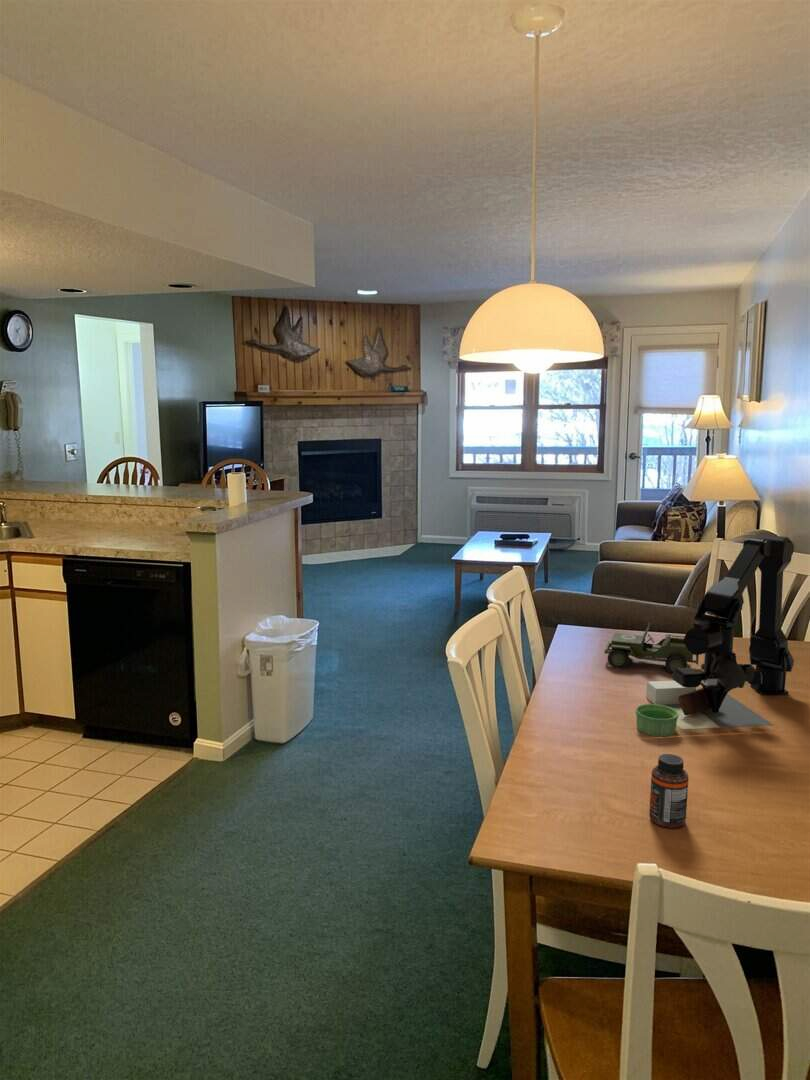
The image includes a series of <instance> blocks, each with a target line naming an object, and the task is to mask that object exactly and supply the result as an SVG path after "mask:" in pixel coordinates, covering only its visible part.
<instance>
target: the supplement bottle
mask: <svg viewBox="0 0 810 1080" xmlns="http://www.w3.org/2000/svg"><path fill="white" fill-rule="evenodd" d="M688 793H689V774H688V772H687V771H686V770H685V769H684V758H682V756H680V755H677V754H672V753H662V754H660V755H659V756H658V761H657V765H656V766H654V767H653V768H652V771H651V779H650V796H649V811H648V813H649V818H650V820H651V821H652V822H653V823H655V824H656V825H658V826H660V827H663V828H667V829H677V828H680V827H683V826H684V825H685V823H686V819H687V807H688V797H689V796H688Z"/></svg>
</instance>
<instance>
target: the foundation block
mask: <svg viewBox="0 0 810 1080" xmlns="http://www.w3.org/2000/svg"><path fill="white" fill-rule="evenodd" d="M695 690H697V687H683V686H681V685H680V684H678V683H677V682H676V681H674V680H656V681H655V680H654V681H653V680H651V681H646V693H645V694H646V695H645V699H647V698H648V699H649V700H648V699H647V700H648V701H650V702H651V704H658V705H665V704H680V702H679V700H678V699H679V698H678V697H679V696H680V695H682V694H685V693H689V692H692V691H695Z"/></svg>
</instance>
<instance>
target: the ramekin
mask: <svg viewBox="0 0 810 1080" xmlns="http://www.w3.org/2000/svg"><path fill="white" fill-rule="evenodd" d="M635 715H636V728H637V730H638V731H640V732H641V733H643V734H645V735H649V736H653V737H662V738H666V737H669V736H673V735H674V734H675V733H676V729H677V725H676V724H677V719H678V716H679V714H678V712H677V711H676V710H675V709H673V708H671V707H668V706H664V705H658V704H653V703H645V704H640V705H638V706H636V707H635Z"/></svg>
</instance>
